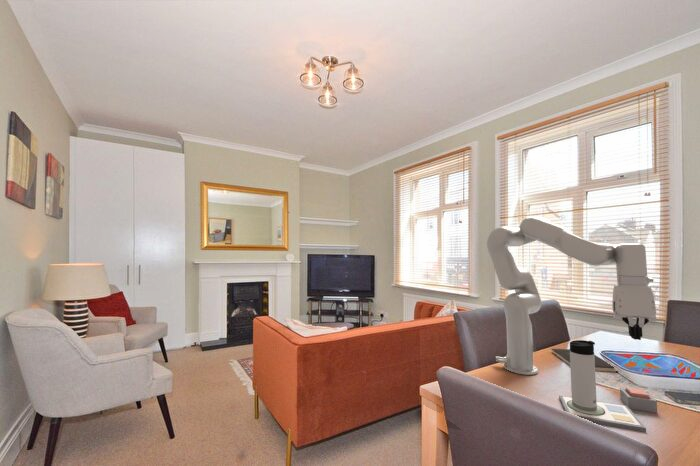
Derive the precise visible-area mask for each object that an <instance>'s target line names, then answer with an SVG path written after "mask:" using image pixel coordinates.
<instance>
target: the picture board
mask: <svg viewBox="0 0 700 466" xmlns="http://www.w3.org/2000/svg"><path fill="white" fill-rule="evenodd" d="M558 397H559V401H560V403H561V405H562V408H563V410H564V412H565V411H566V412H569V413H571V414H574V415H577V416H579V417H581V418H584V419H587V420H589V421H592V422H594V424H599V425H604V426H611V427H617V428H622V429H628V430H634V431H639V432H644V433H646V432H647V428H646V426H645V425H644V424H643V423H642V422H641V421H640V419H639V418H638V417H637V416H636V414H634V412H633V411H632V409H629V407H628V406H627V405H625V404H619V403H613V402H605V401H599V400H597V410H595V411H585V410H581V409H578V408H576V407H575V406H573V404H572V396H566V395H559V396H558ZM566 412H565V413H566ZM592 422H591V423H592Z"/></svg>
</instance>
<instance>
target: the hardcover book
mask: <svg viewBox="0 0 700 466" xmlns="http://www.w3.org/2000/svg"><path fill="white" fill-rule="evenodd" d="M551 351H552V353H553V354H554V355H555V356H557V357H558V358H559V359H561V360H562V361H563V362H564V363H566V364H567V365H569V366H570V348H569V349H568V348H567V349H566V348H551ZM594 357H595V372H596V371H598V372H612V373H613V372H616V371H615V369H614V367H615V366H614V365H613V366H614V367H613V366H611V365H612V364H611V363H609V362H608V361H606V360H604V359H603V358H601V357H599V356H597V355H595V354H594ZM607 362H608V363H609V364H608V363H607ZM610 364H611V365H610ZM616 373H617V372H616Z"/></svg>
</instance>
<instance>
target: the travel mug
mask: <svg viewBox="0 0 700 466" xmlns="http://www.w3.org/2000/svg"><path fill="white" fill-rule="evenodd" d="M595 345H596V343H595V341H593V340H582V339H581V340H580V339H579V340H578V339H577V340H571V341H570V342H569V349H570V365H569V366H570V386H571V388H570V390H571V397H572V404H573V406H575V407H576V408H578V409H581V410H585V411H595V410H597V401H598V399H597V387H596V386H597V383H596V379H597V378H596V371H595V357H594V355H595Z"/></svg>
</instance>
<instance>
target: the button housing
mask: <svg viewBox="0 0 700 466" xmlns="http://www.w3.org/2000/svg"><path fill="white" fill-rule="evenodd" d="M645 392H646V393H647V394H648V395H649V399H646V398H639V397H632V396H630V395H629V394H628V393H627V392H626V388H621V387H620V388H619V395H620V396H619V400H621V401H622V403H623V405H627V406H628V407H629V409H630V410H636V411H644V412H650V413H658V401H657V400H656V399H655V398H654V396H652V395H651V394H650V393H649V392H648V391H645Z"/></svg>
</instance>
